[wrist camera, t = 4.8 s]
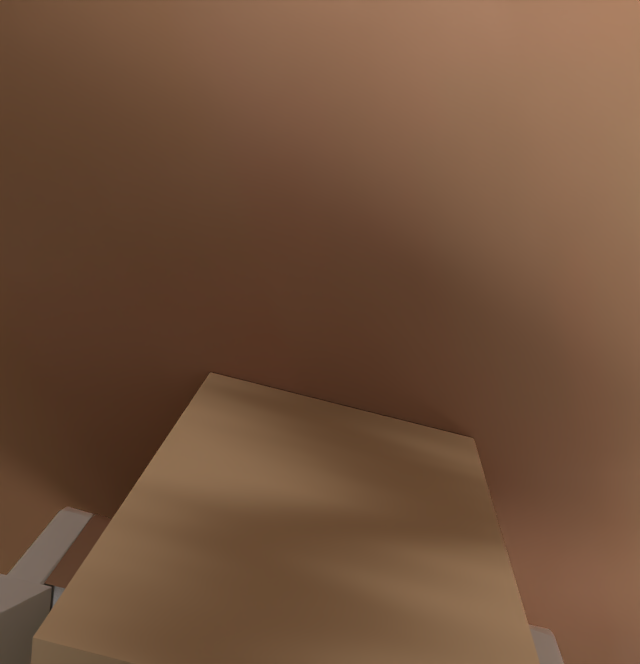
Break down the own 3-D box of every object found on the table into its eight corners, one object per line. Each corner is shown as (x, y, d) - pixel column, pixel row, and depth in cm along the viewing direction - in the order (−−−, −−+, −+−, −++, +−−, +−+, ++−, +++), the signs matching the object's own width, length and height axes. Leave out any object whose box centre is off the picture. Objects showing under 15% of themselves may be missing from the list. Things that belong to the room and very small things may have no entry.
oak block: (474, 438, 11) (573, 776, 5) (400, 637, 13) (417, 1051, 7) (210, 372, 11) (32, 638, 5) (172, 579, 13) (9, 943, 7)
